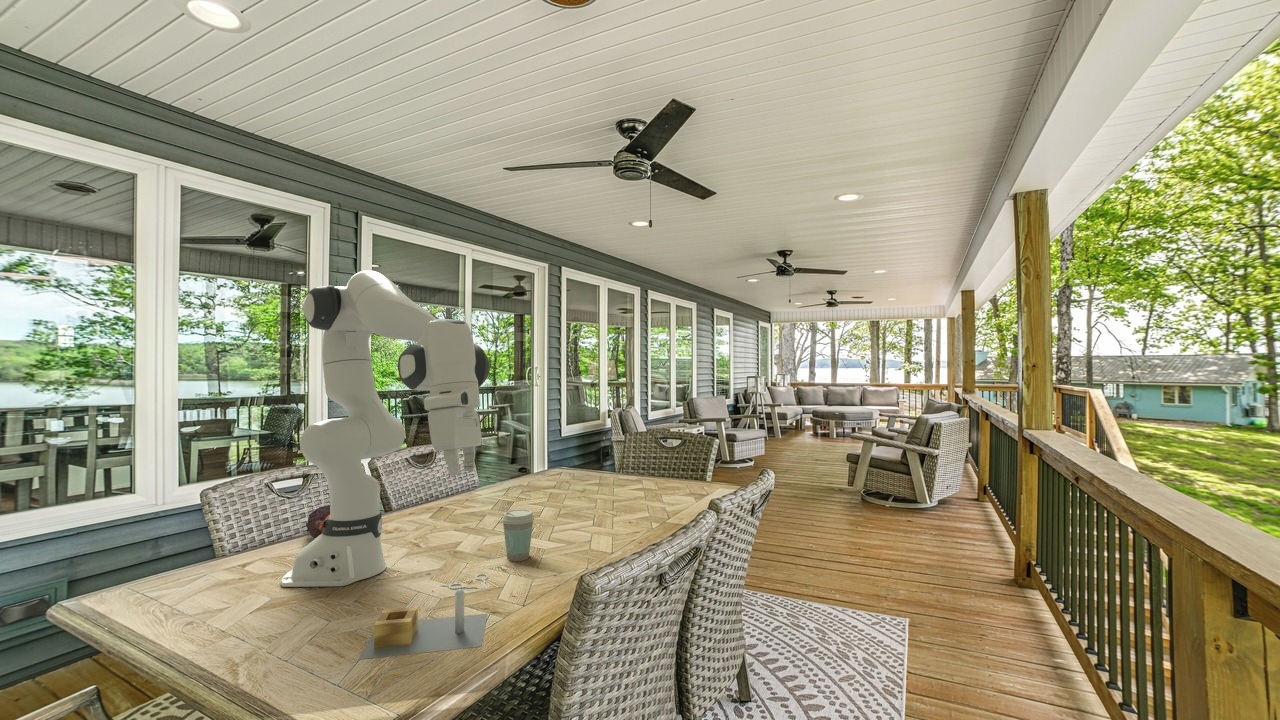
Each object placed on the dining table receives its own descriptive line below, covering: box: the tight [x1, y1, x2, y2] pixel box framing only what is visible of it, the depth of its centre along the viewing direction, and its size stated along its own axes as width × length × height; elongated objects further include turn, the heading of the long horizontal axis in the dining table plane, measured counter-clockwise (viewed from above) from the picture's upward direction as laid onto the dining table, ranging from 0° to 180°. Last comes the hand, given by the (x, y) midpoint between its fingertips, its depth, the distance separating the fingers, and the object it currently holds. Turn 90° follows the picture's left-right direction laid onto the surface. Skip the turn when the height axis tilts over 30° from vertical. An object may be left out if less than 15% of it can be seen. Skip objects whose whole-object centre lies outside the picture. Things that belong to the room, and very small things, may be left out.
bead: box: [373, 606, 419, 648], centre depth 96 cm, size 6×6×4 cm
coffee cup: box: [501, 509, 535, 562], centre depth 142 cm, size 8×9×12 cm
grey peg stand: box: [357, 588, 489, 661], centre depth 97 cm, size 20×13×9 cm, turn 102°
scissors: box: [440, 573, 518, 598], centre depth 121 cm, size 11×1×20 cm
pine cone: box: [305, 504, 330, 540], centre depth 159 cm, size 18×10×10 cm, turn 50°
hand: (462, 472), depth 99 cm, fingers open, 8 cm apart
